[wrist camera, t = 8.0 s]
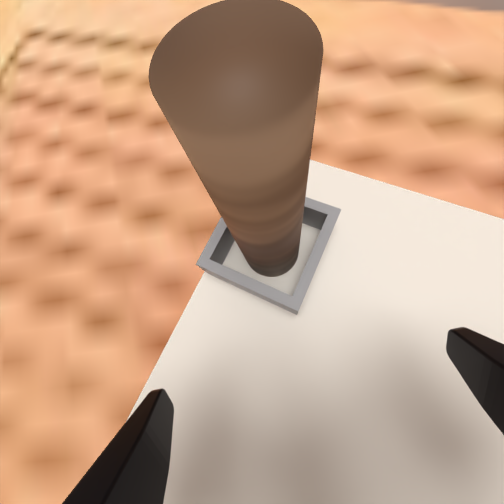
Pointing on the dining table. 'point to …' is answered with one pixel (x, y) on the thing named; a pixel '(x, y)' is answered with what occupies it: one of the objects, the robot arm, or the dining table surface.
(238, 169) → the stool leg
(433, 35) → the dining table surface
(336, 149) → the dining table surface
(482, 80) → the dining table surface
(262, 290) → the stool seat
